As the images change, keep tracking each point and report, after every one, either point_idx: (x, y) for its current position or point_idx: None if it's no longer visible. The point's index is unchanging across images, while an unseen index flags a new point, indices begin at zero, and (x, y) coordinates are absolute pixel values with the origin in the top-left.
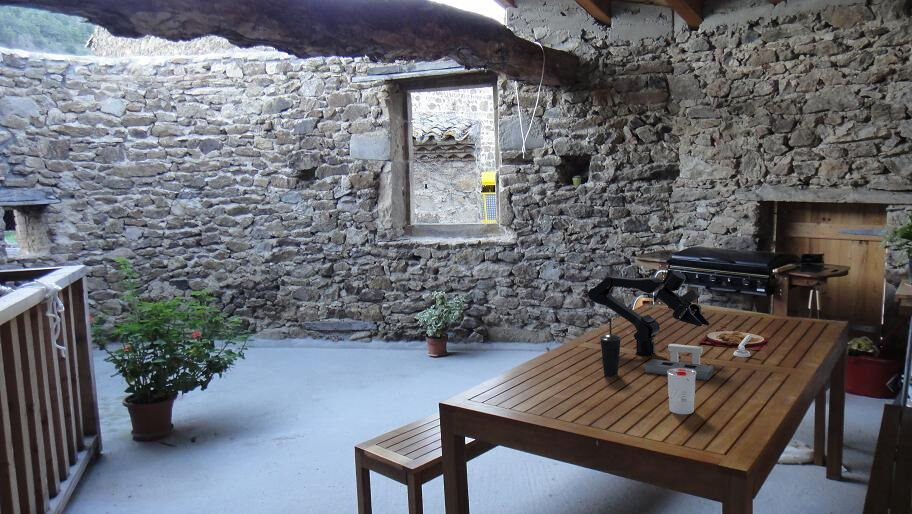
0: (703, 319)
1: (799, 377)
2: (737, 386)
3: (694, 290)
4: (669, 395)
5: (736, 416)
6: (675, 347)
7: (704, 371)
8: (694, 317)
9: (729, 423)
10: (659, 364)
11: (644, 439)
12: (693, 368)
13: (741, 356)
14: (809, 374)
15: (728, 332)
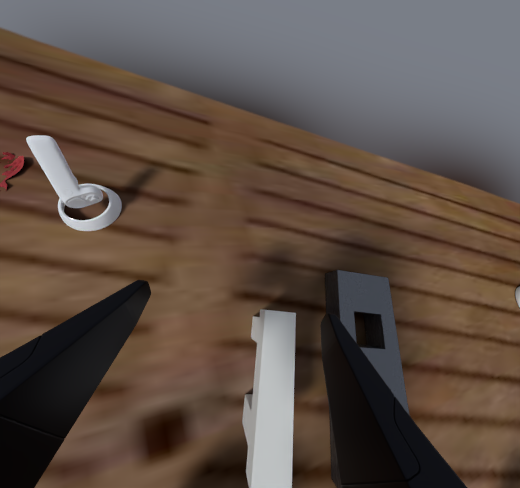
0: (97, 336)
1: (278, 130)
2: (378, 226)
3: None
4: None
5: (492, 230)
6: (290, 436)
7: (388, 286)
8: (401, 405)
9: (516, 238)
10: None
11: None
12: (381, 317)
13: (120, 209)
14: (252, 113)
15: None
